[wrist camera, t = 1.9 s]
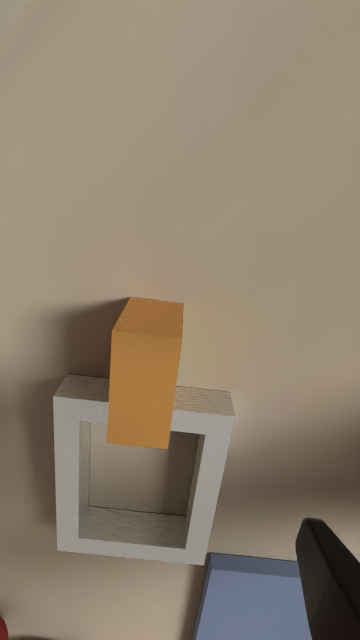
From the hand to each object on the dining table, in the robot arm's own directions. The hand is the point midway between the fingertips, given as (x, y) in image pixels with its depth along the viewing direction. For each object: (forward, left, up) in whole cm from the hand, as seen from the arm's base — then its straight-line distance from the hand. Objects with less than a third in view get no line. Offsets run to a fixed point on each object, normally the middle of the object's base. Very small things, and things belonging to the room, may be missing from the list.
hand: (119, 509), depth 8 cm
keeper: (-14, +23, -9) cm, 28 cm away
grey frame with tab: (0, +5, -9) cm, 10 cm away
